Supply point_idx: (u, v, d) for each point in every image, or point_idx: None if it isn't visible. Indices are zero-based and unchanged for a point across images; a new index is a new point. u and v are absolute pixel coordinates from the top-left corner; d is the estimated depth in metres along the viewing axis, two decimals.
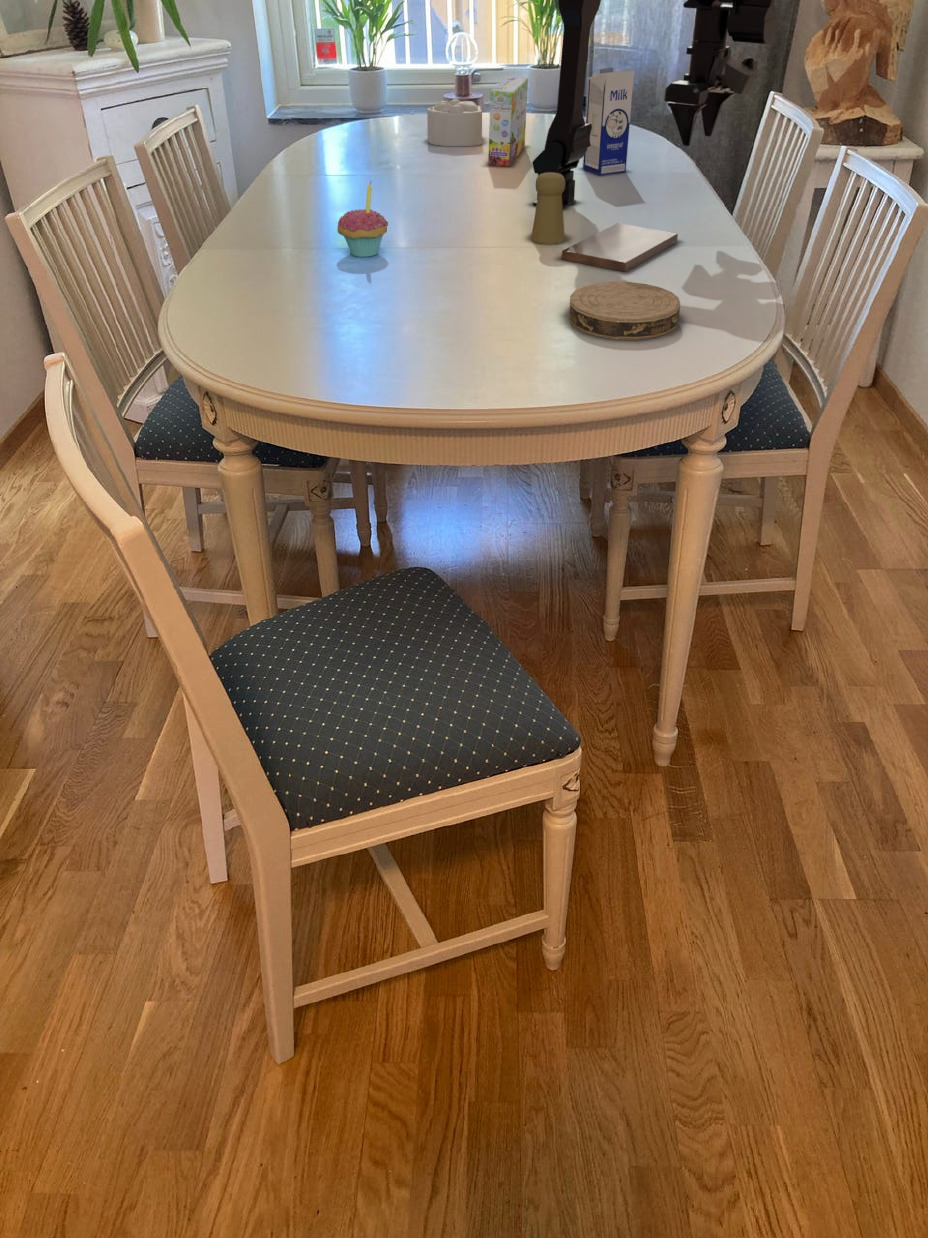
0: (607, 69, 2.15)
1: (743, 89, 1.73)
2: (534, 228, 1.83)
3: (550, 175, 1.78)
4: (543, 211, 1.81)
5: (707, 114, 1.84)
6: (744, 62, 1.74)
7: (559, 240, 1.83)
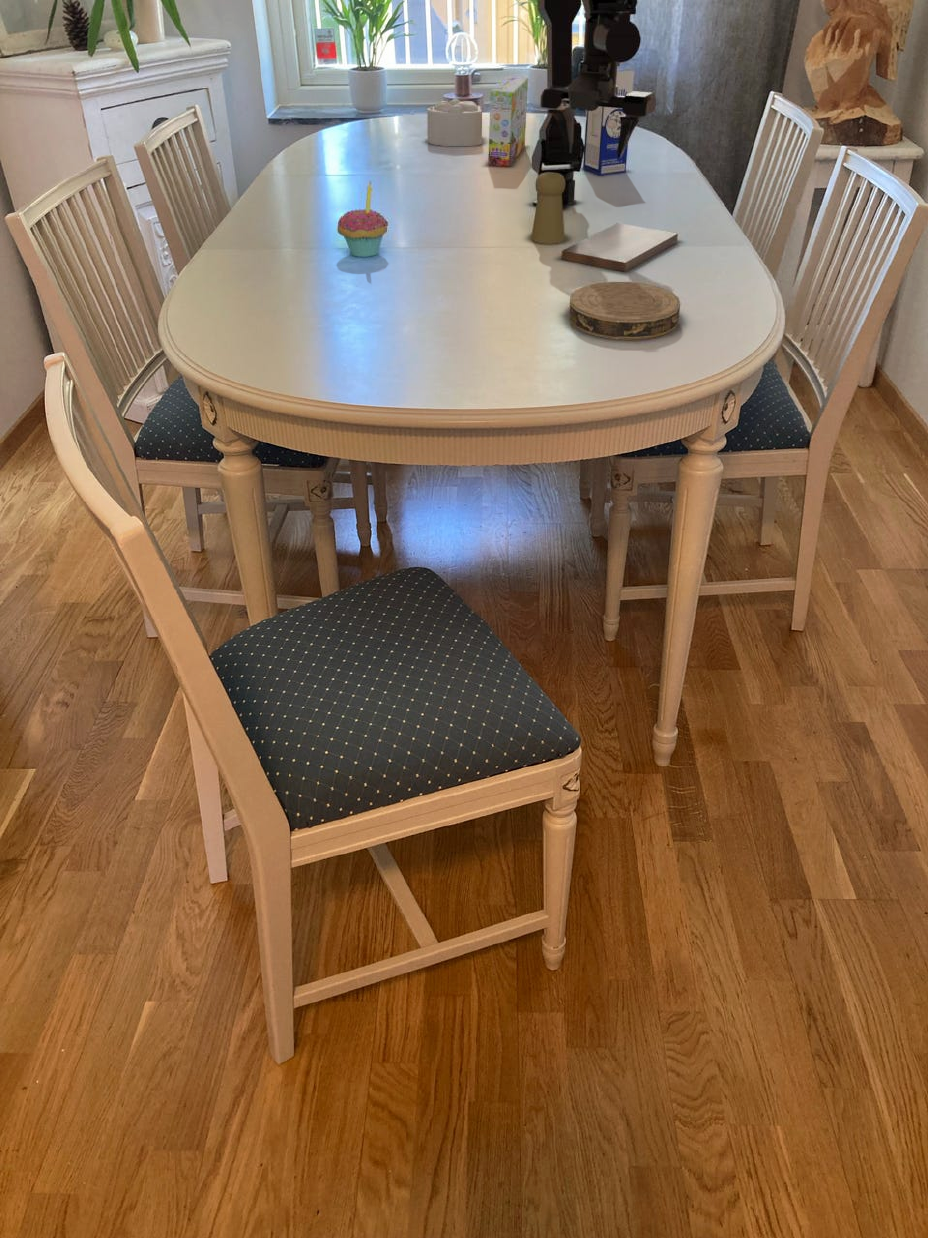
0: None
1: (572, 104, 1.69)
2: (534, 228, 1.83)
3: (550, 175, 1.78)
4: (543, 211, 1.81)
5: None
6: (600, 81, 1.67)
7: (559, 240, 1.83)
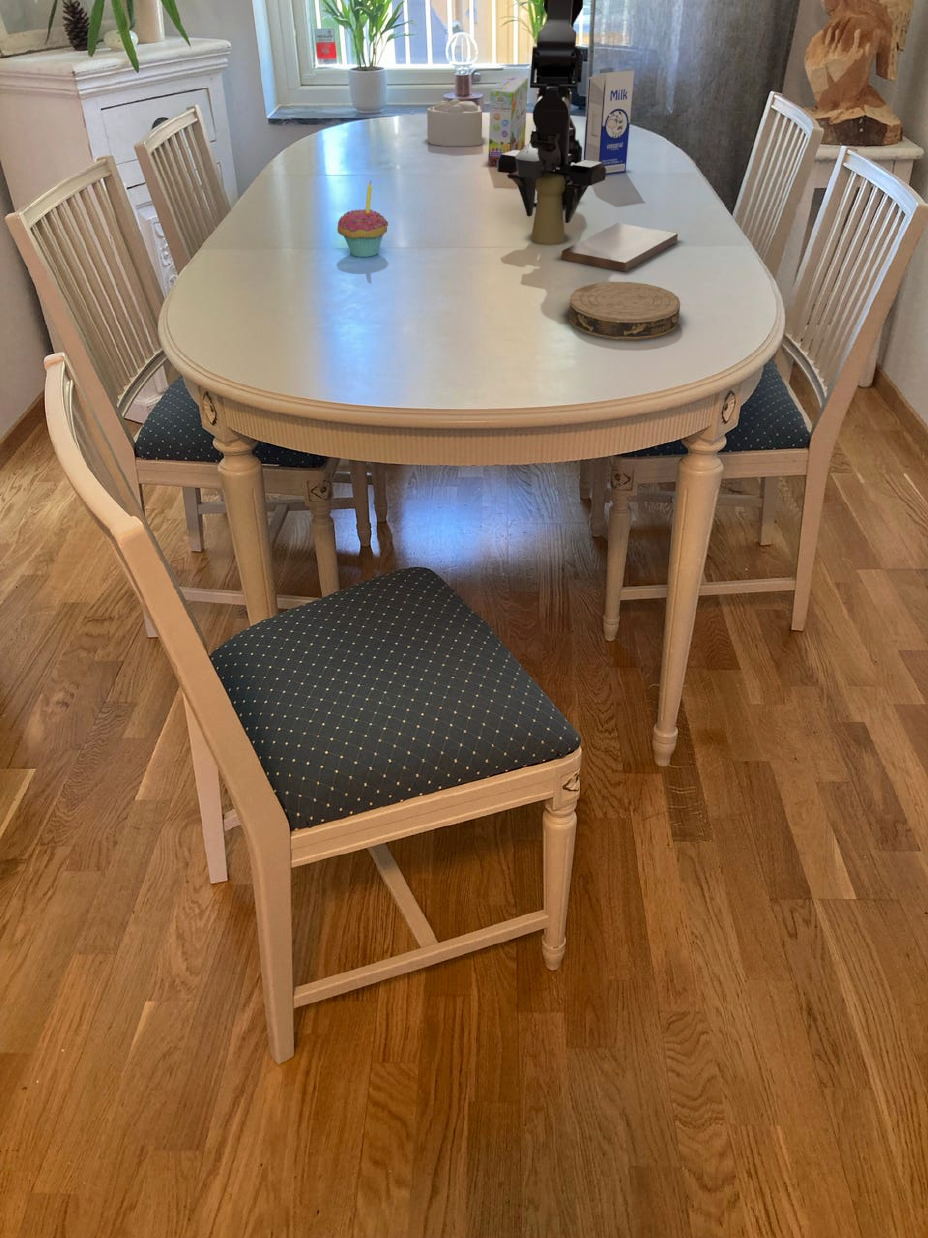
0: (607, 69, 2.15)
1: (519, 172, 1.73)
2: (534, 228, 1.83)
3: (550, 175, 1.78)
4: (543, 211, 1.81)
5: None
6: (546, 151, 1.71)
7: (559, 240, 1.83)
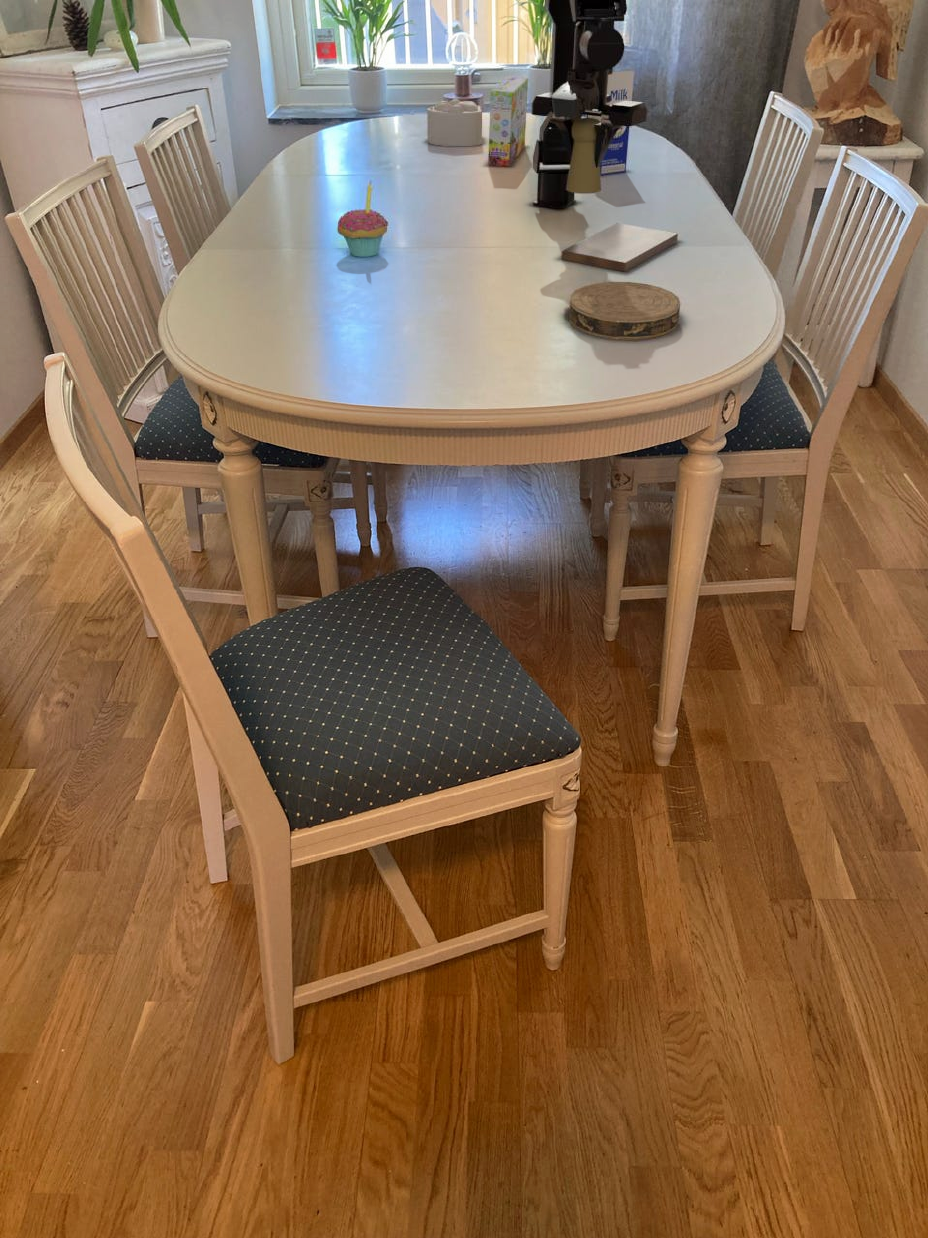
0: None
1: (555, 112, 1.65)
2: (569, 177, 1.75)
3: (587, 120, 1.69)
4: (579, 158, 1.72)
5: None
6: (585, 89, 1.62)
7: (596, 190, 1.75)
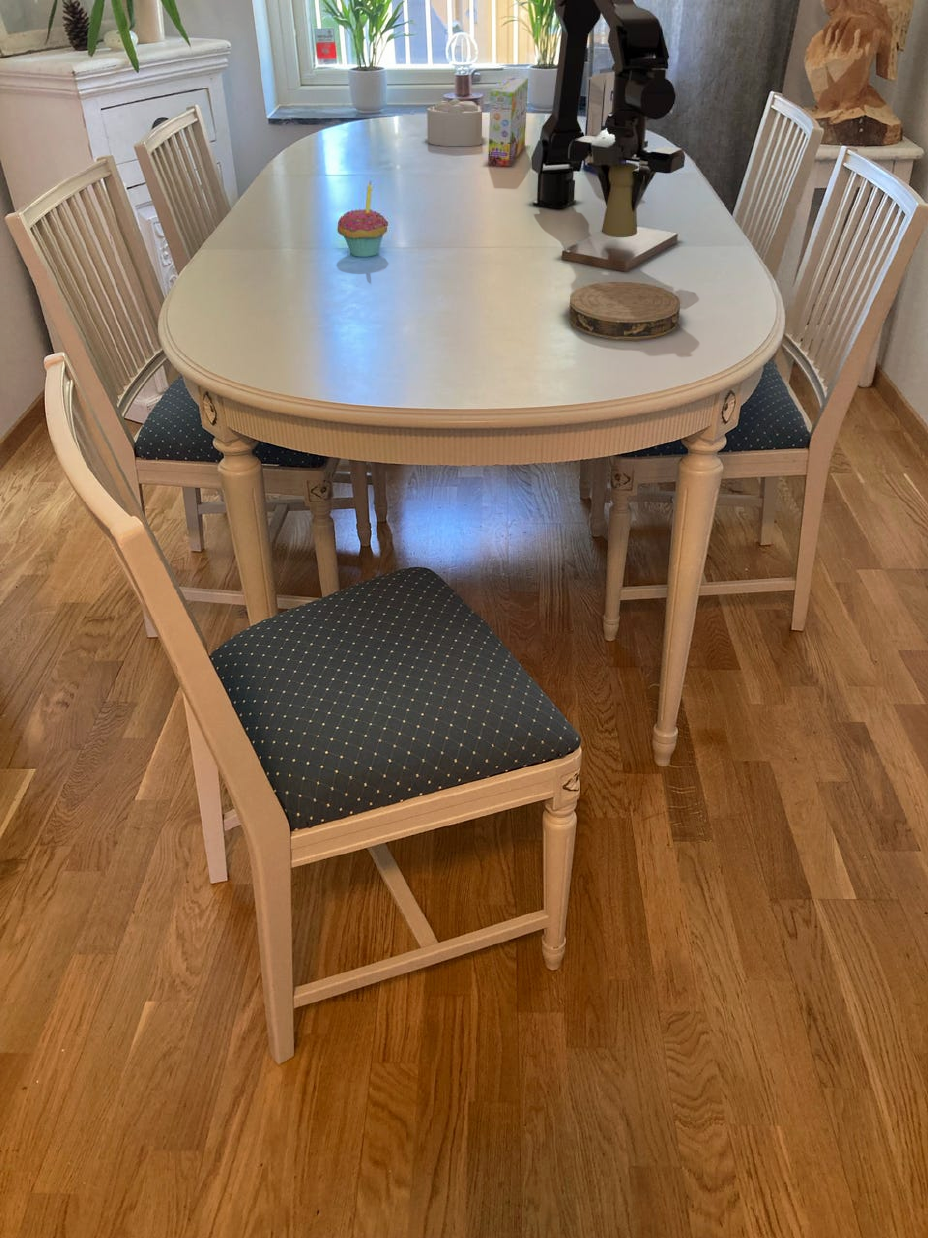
0: (607, 69, 2.15)
1: (594, 159, 1.65)
2: (606, 221, 1.75)
3: (625, 165, 1.70)
4: (616, 202, 1.72)
5: None
6: (624, 137, 1.62)
7: (632, 233, 1.75)
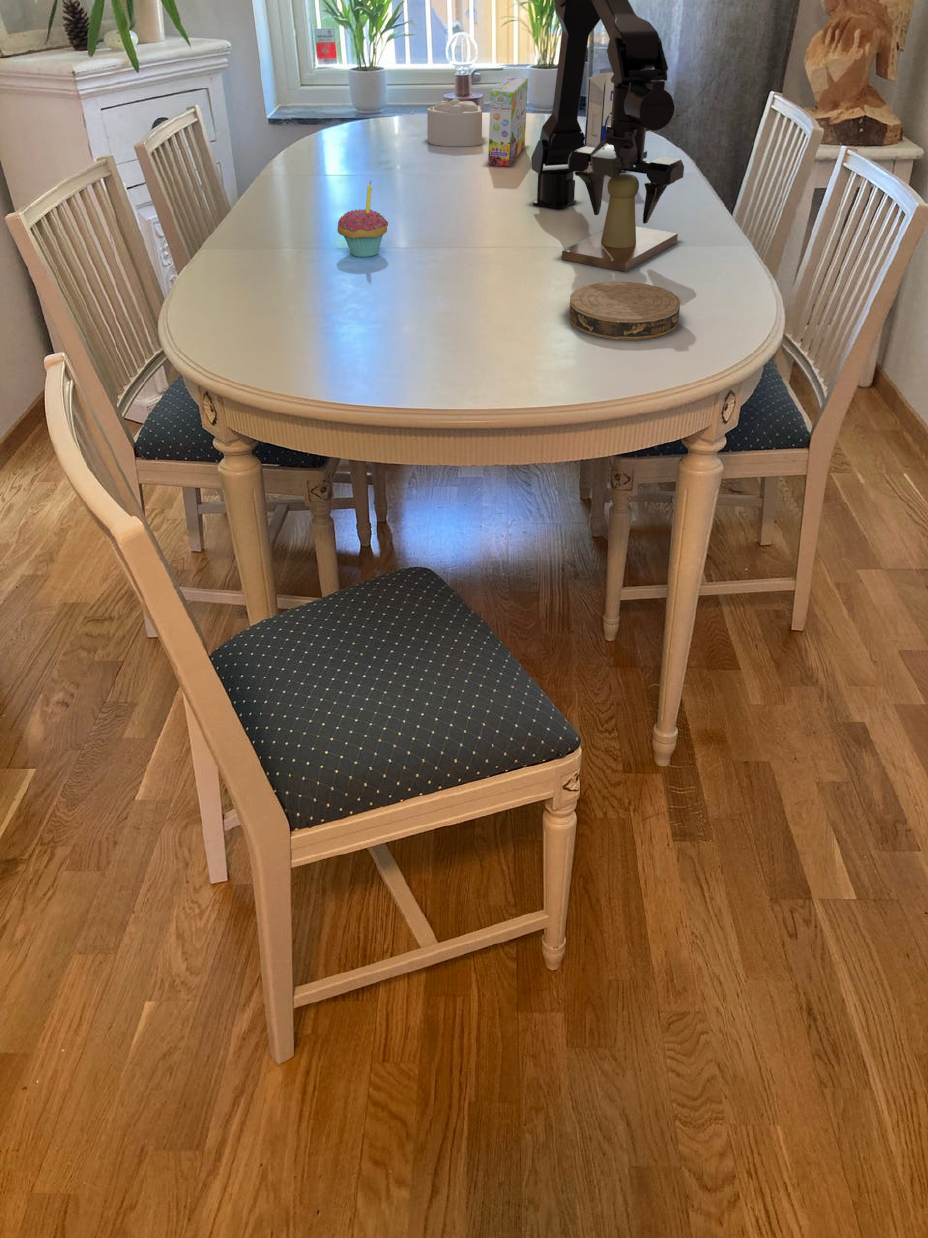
0: (607, 69, 2.15)
1: (594, 170, 1.66)
2: (605, 231, 1.76)
3: (624, 176, 1.71)
4: (615, 213, 1.73)
5: None
6: (624, 147, 1.63)
7: (631, 244, 1.76)
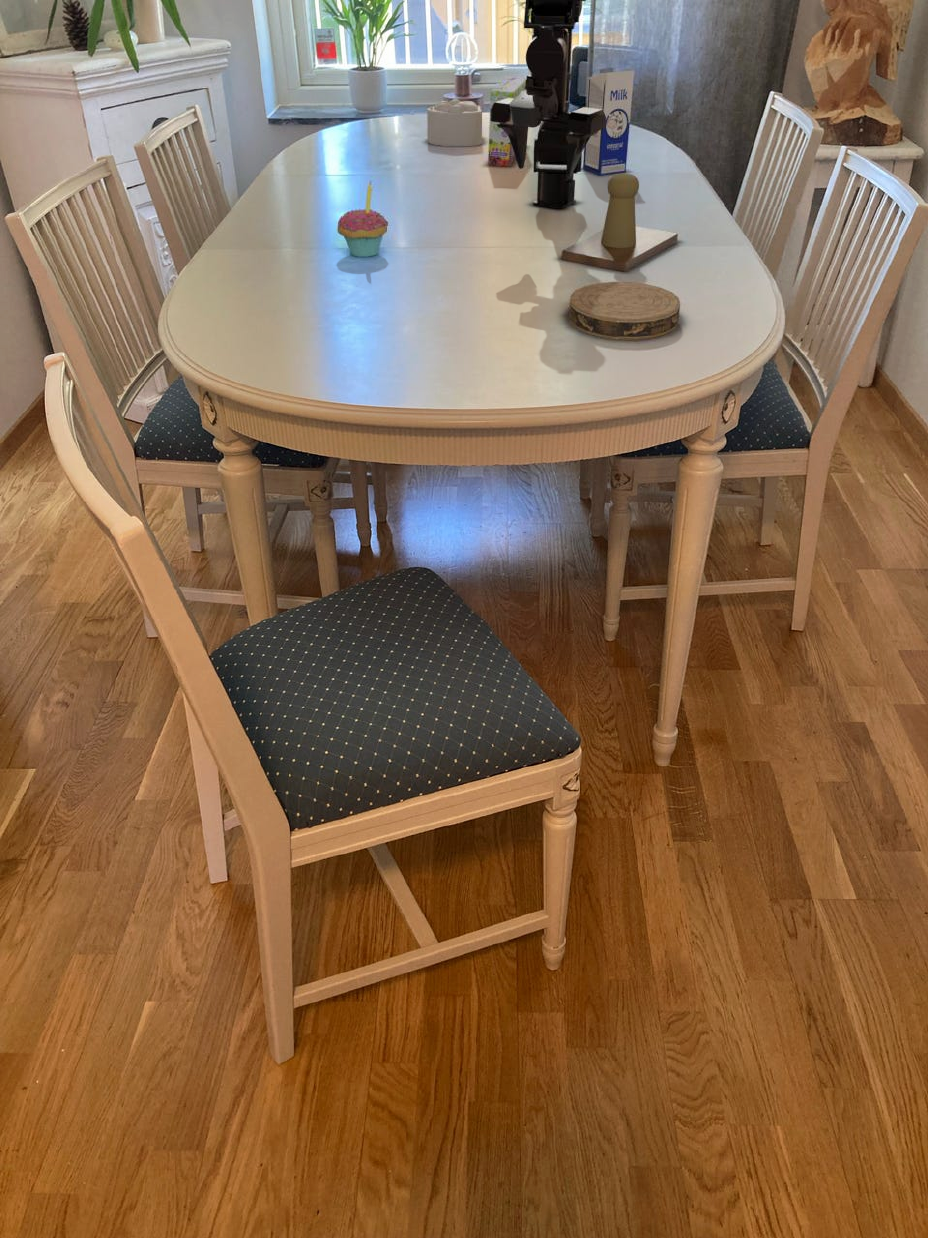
0: (607, 69, 2.15)
1: (514, 120, 1.63)
2: (605, 231, 1.76)
3: (624, 176, 1.71)
4: (615, 213, 1.73)
5: None
6: (543, 97, 1.60)
7: (631, 244, 1.76)
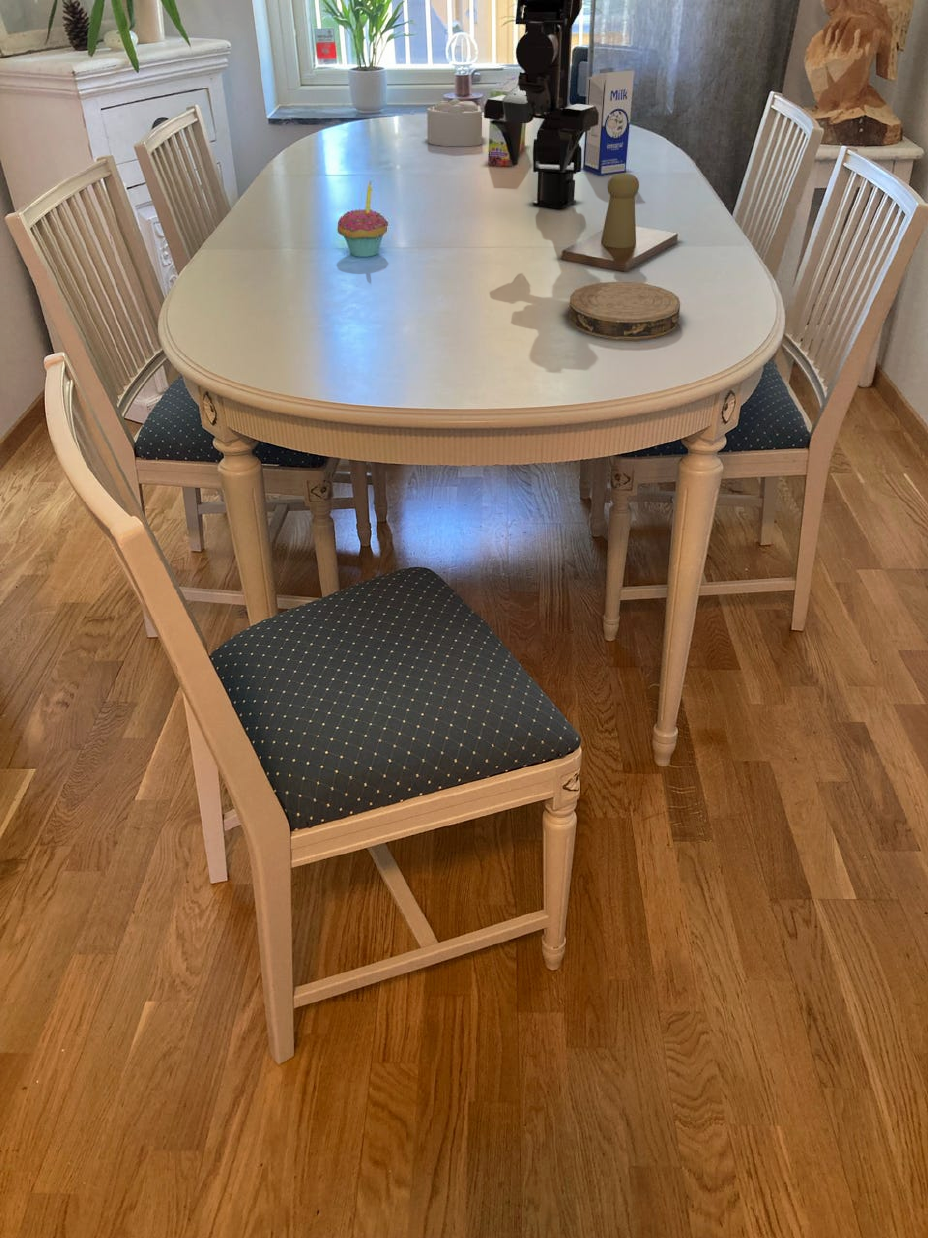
0: (607, 69, 2.15)
1: (506, 116, 1.63)
2: (605, 231, 1.76)
3: (624, 176, 1.71)
4: (615, 213, 1.73)
5: None
6: (535, 93, 1.61)
7: (631, 244, 1.76)
